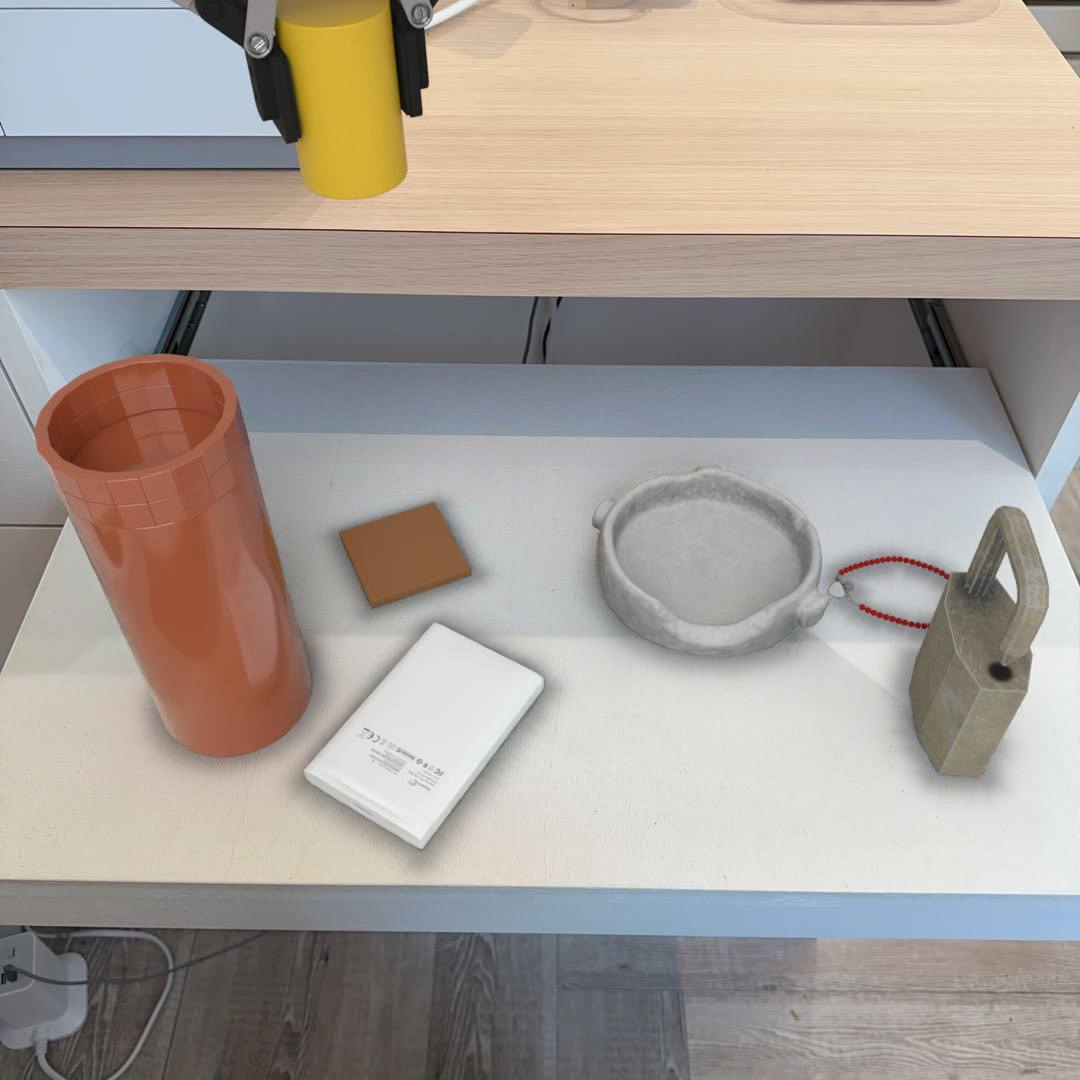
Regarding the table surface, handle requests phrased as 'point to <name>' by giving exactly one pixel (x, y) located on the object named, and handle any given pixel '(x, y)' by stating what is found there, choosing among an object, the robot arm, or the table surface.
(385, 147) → the yellow cylinder
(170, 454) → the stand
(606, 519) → the dish
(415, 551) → the mat
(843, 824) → the table surface
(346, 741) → the hard drive
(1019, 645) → the padlock
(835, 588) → the necklace
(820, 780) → the table surface
